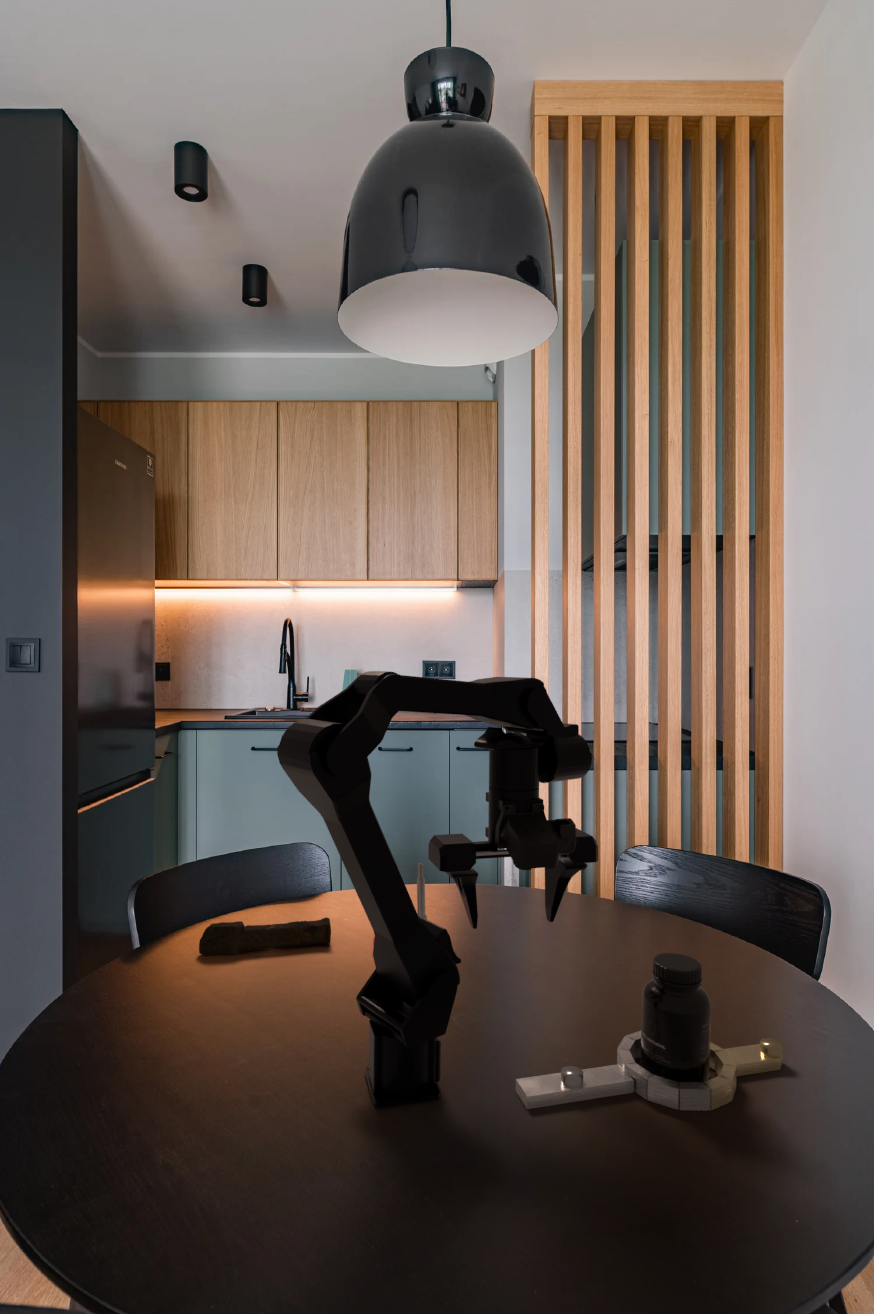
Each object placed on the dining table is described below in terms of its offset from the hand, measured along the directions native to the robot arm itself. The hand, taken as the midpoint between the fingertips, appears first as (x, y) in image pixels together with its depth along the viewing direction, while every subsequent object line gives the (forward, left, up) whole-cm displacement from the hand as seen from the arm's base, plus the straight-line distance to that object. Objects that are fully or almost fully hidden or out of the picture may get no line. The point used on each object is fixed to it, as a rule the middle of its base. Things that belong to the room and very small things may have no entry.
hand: (512, 924), depth 82 cm
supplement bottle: (+14, -11, -13) cm, 22 cm away
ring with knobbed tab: (+20, -11, -13) cm, 26 cm away
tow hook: (-6, +30, -13) cm, 33 cm away
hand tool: (-26, +32, -14) cm, 44 cm away
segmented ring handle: (+6, -11, -13) cm, 18 cm away
